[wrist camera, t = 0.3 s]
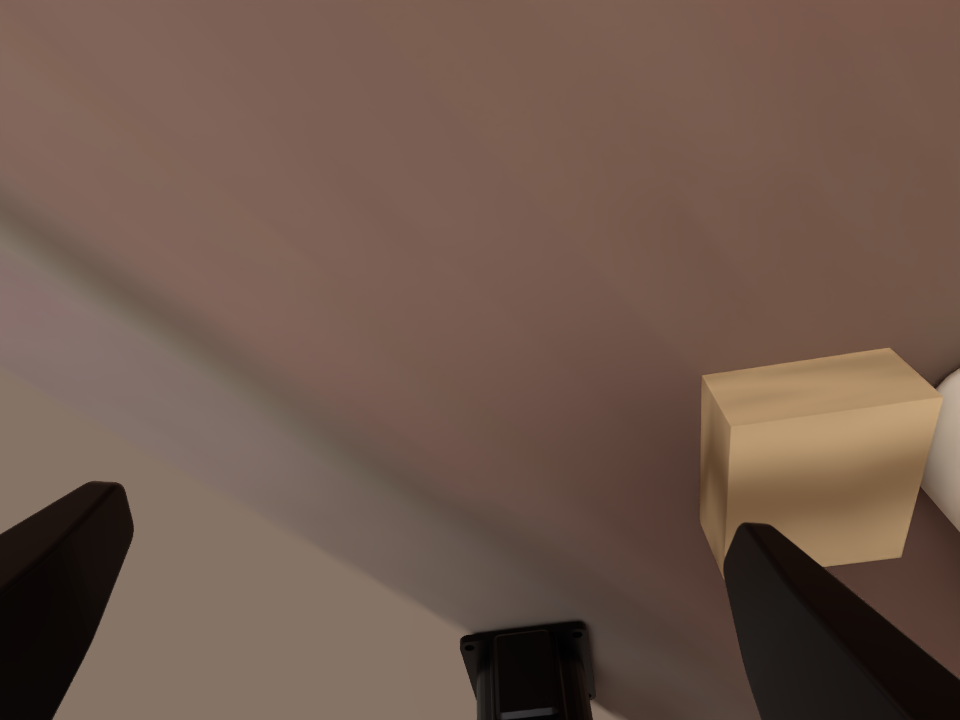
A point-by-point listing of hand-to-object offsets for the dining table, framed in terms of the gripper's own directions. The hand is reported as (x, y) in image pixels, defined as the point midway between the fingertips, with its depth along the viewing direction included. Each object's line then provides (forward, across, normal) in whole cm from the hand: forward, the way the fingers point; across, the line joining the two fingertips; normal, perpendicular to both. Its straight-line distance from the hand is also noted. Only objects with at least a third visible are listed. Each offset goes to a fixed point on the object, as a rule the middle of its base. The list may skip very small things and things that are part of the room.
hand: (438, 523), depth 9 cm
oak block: (+14, -14, +8) cm, 22 cm away
